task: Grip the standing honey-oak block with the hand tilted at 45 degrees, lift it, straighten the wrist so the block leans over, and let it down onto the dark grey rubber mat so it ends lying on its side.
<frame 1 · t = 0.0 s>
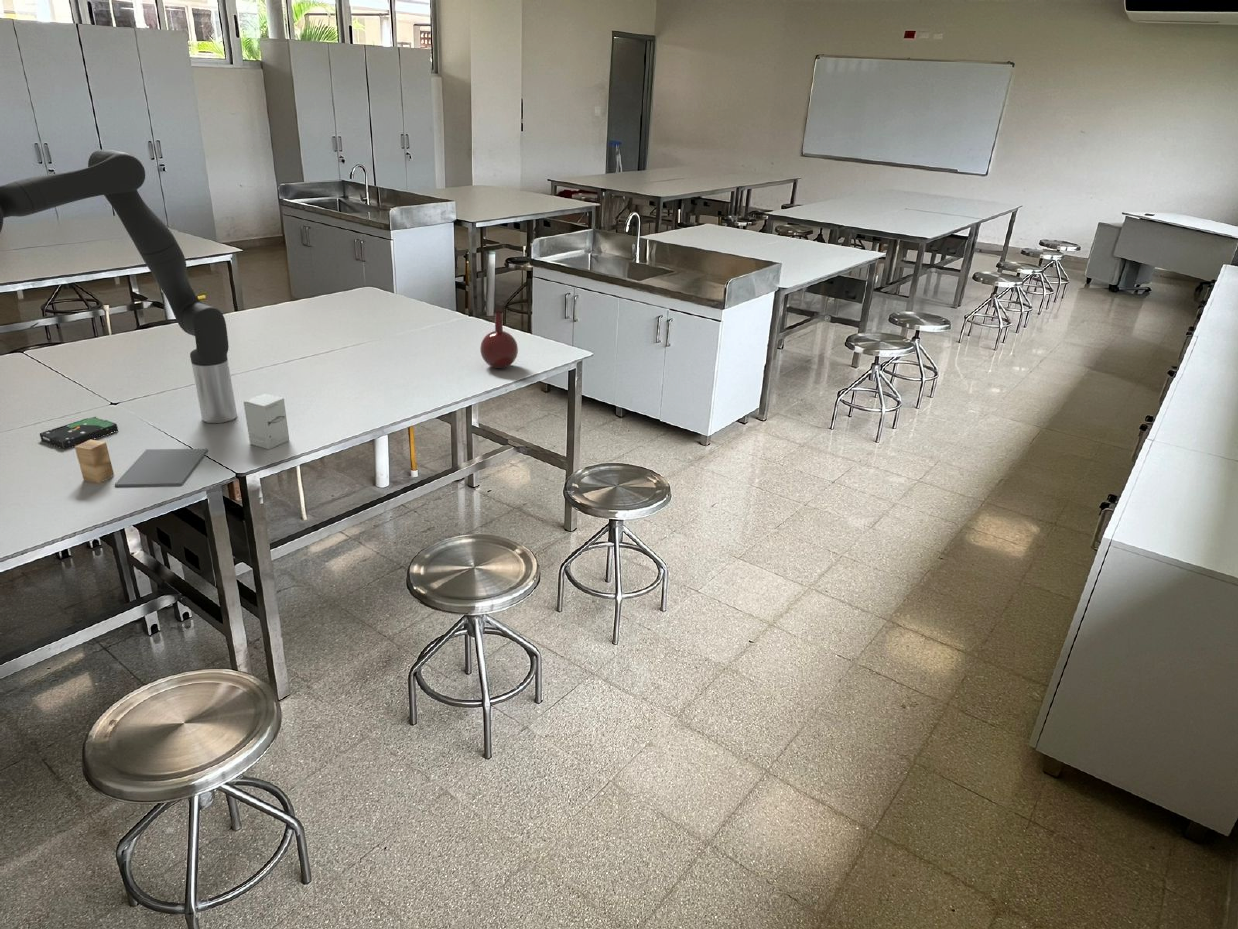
oak block: (99, 477, 193), on the table
round-bottom flask: (499, 367, 282), on the table
disk drive: (81, 438, 214), on the table
supplement box: (270, 443, 217), on the table
rubber mat: (163, 467, 200), on the table
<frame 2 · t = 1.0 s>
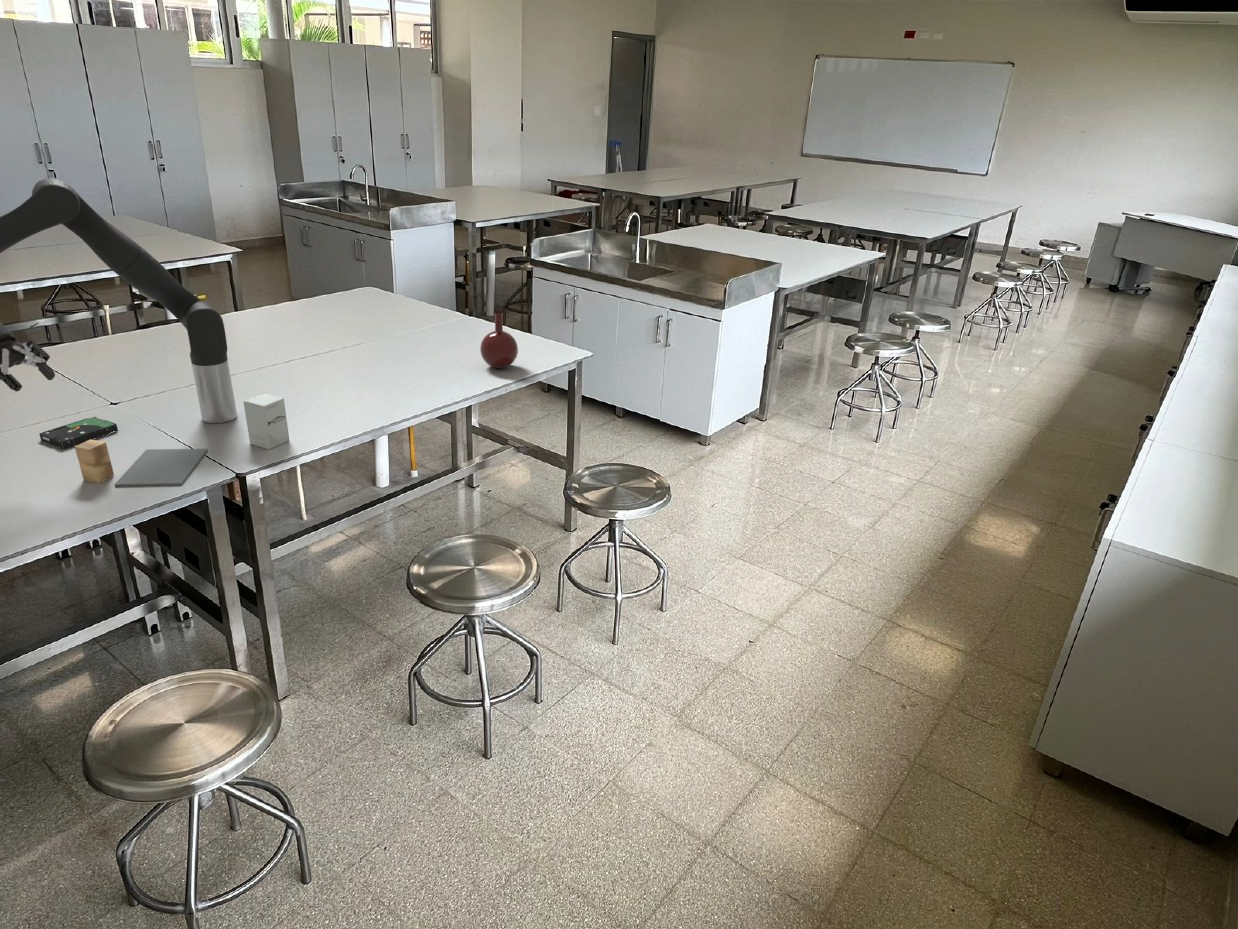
hand: (36, 383, 186), 23 cm above the table, tool tilted 45°, fingers open, 8 cm apart
nothing on the table moved.
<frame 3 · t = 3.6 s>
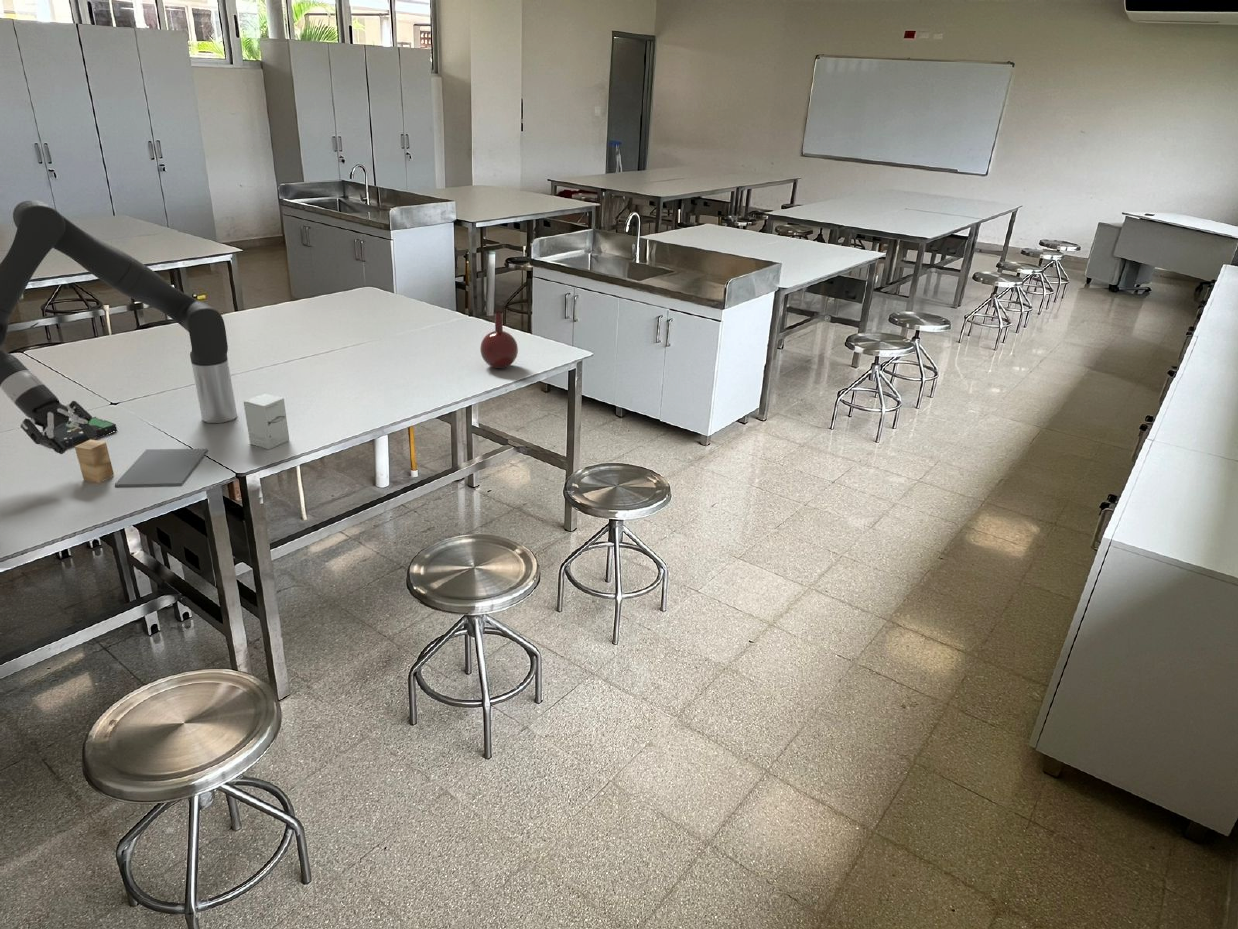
hand: (80, 445, 190), 8 cm above the table, tool tilted 45°, fingers open, 8 cm apart
nothing on the table moved.
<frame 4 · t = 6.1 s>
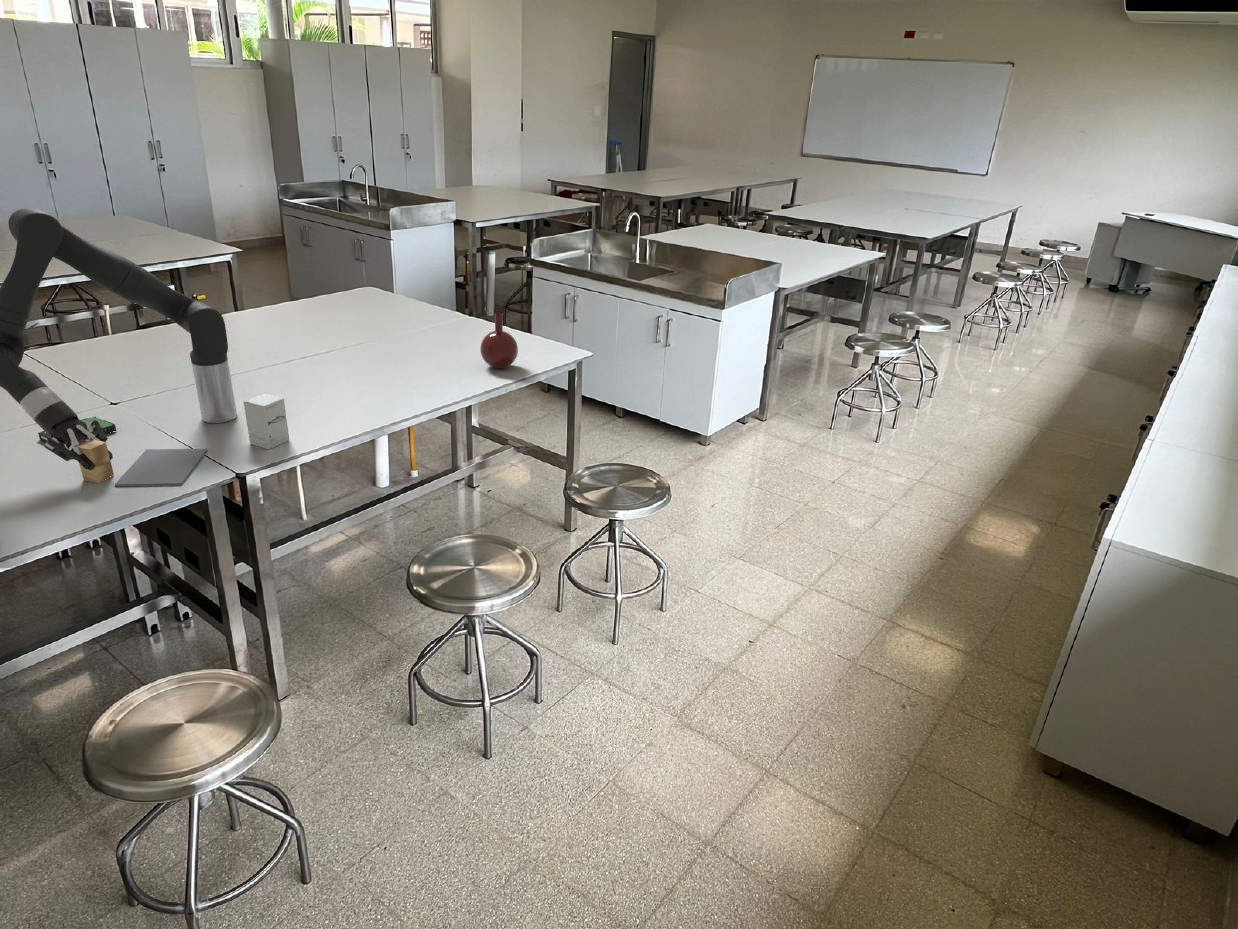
hand: (101, 463, 191), 4 cm above the table, tool tilted 45°, fingers closed on oak block, 4 cm apart
oak block: (99, 477, 193), on the table, touching gripper
everything else where it was.
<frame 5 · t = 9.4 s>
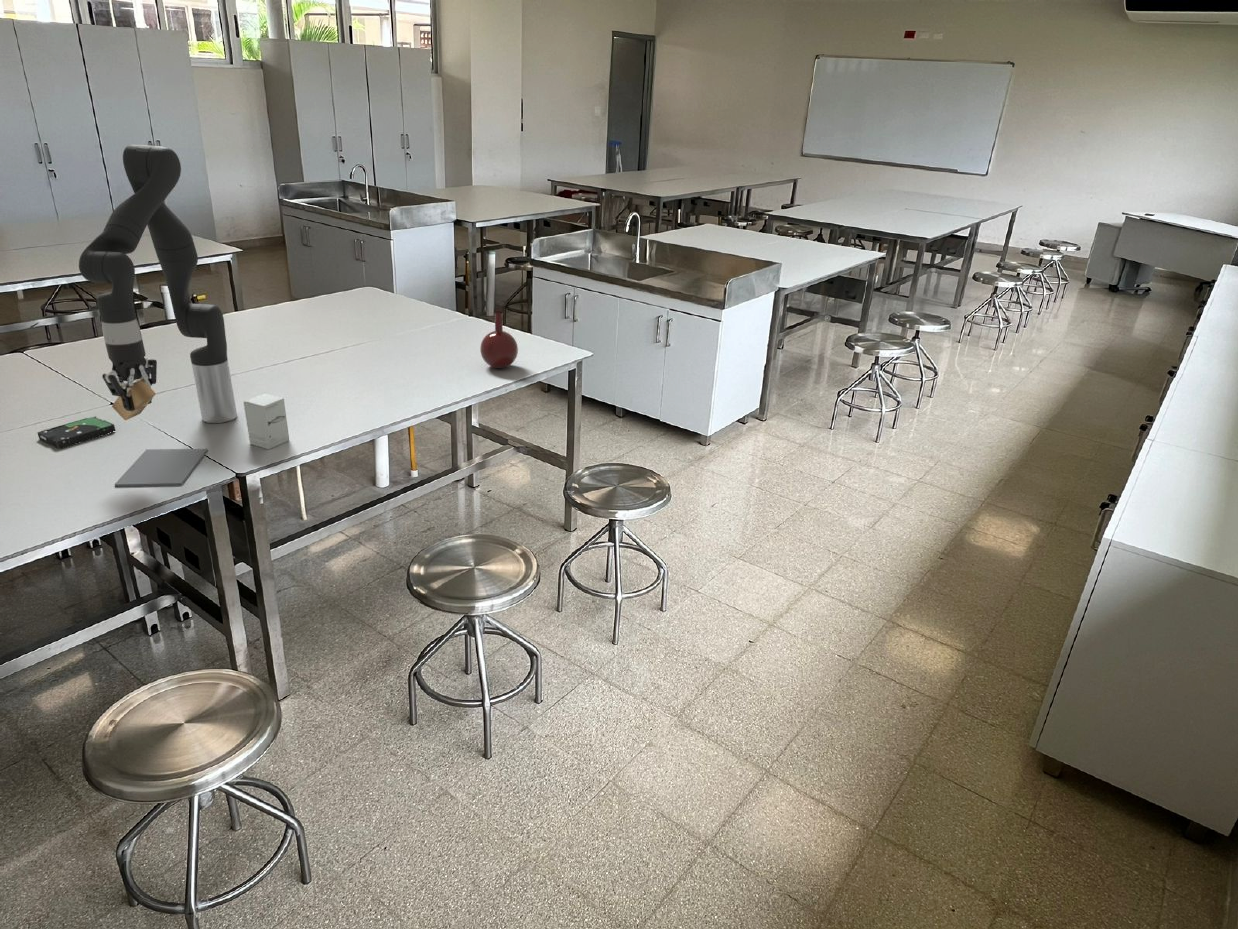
hand: (138, 406, 191), 17 cm above the table, tool pointing down, fingers closed on oak block, 4 cm apart
oak block: (125, 410, 193), point 15 cm above the table, tilted 45°, touching gripper
everything else where it was.
when the fingers open (5 cm above the table, at t = 12.4 s): oak block moves 2 cm and tips over, resting on rubber mat.
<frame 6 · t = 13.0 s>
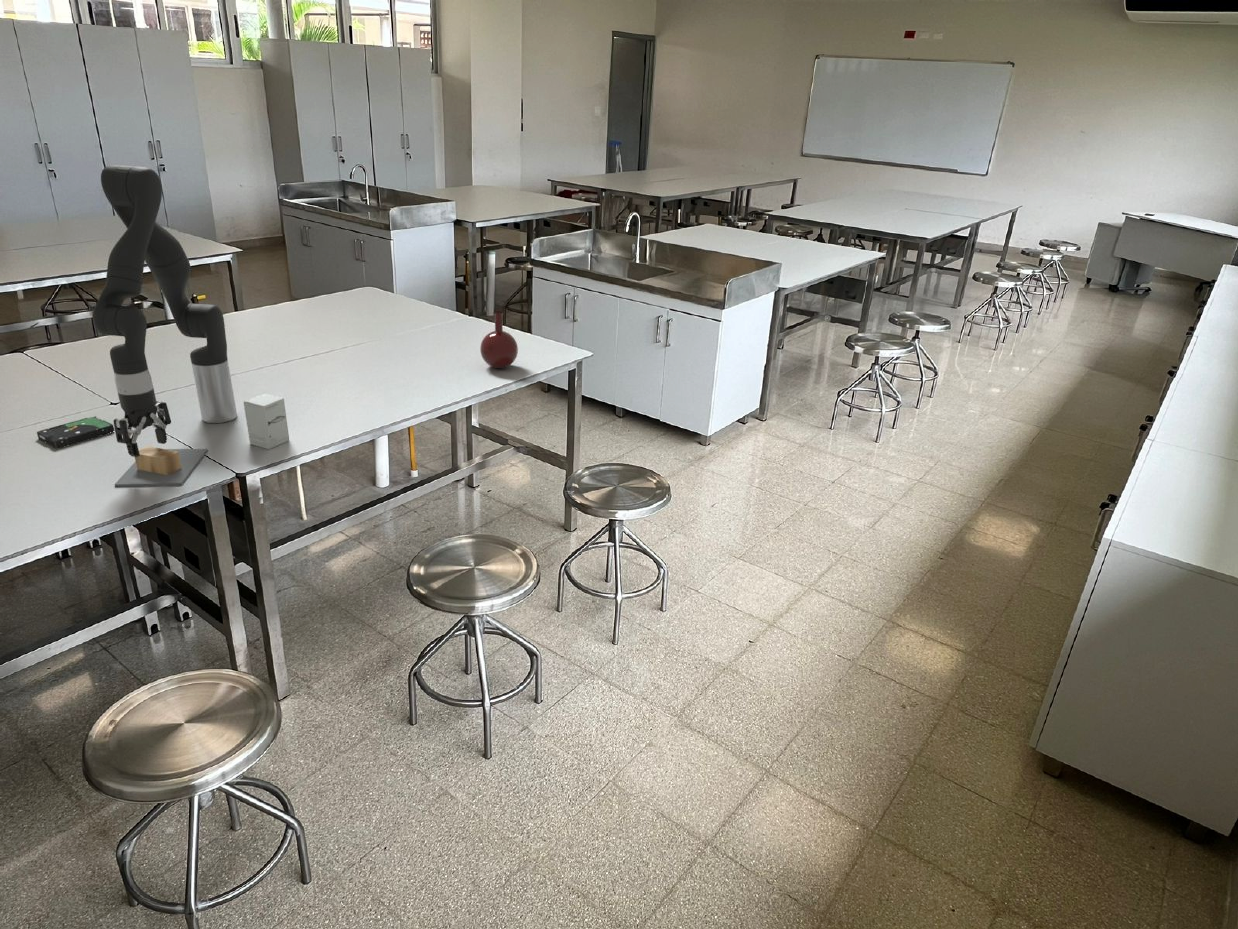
hand: (149, 449, 196), 6 cm above the table, tool pointing down, fingers open, 8 cm apart
oak block: (142, 457, 198), point 3 cm above the table, tilted 90°, touching rubber mat
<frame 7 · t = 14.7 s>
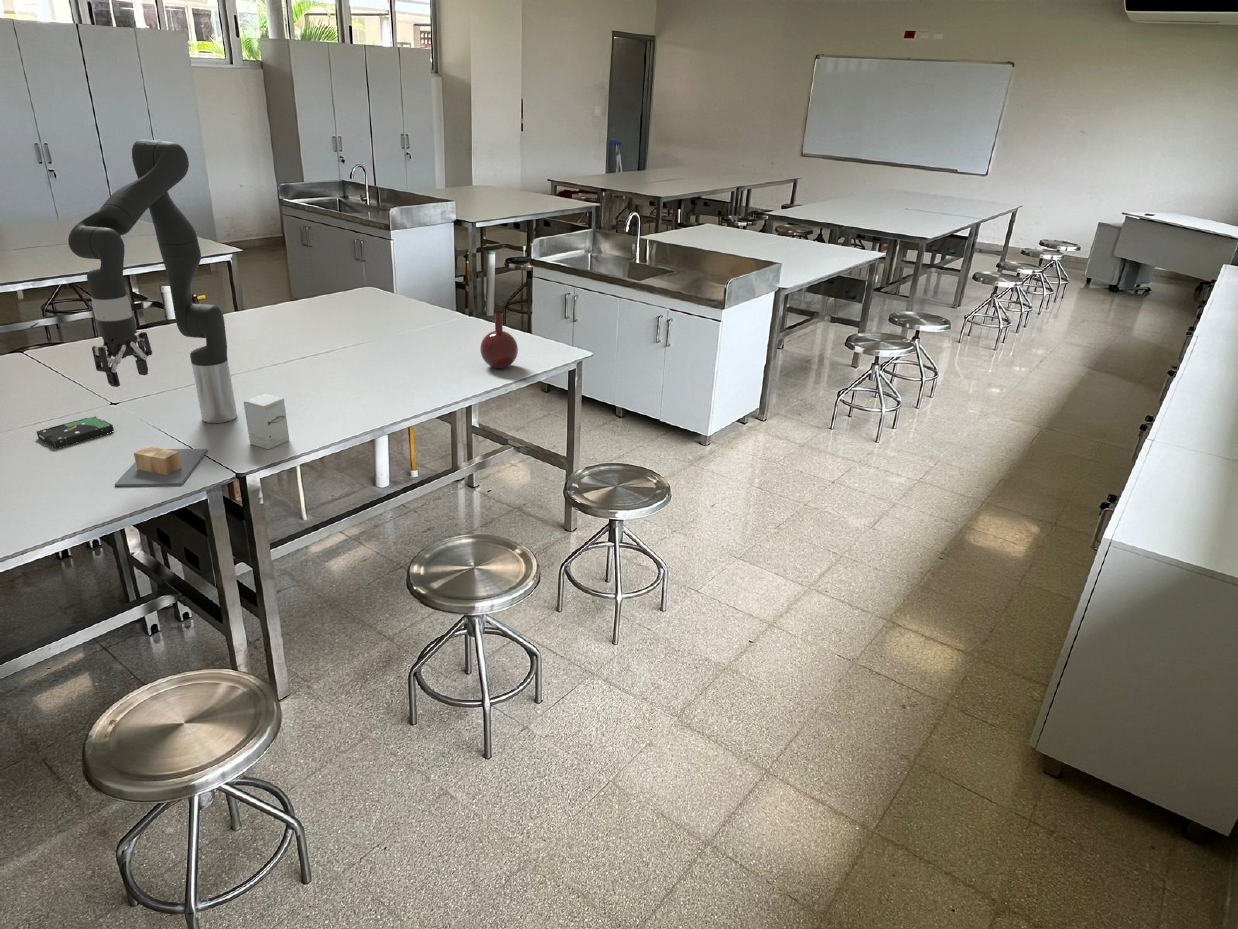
hand: (129, 380, 191), 23 cm above the table, tool pointing down, fingers open, 8 cm apart
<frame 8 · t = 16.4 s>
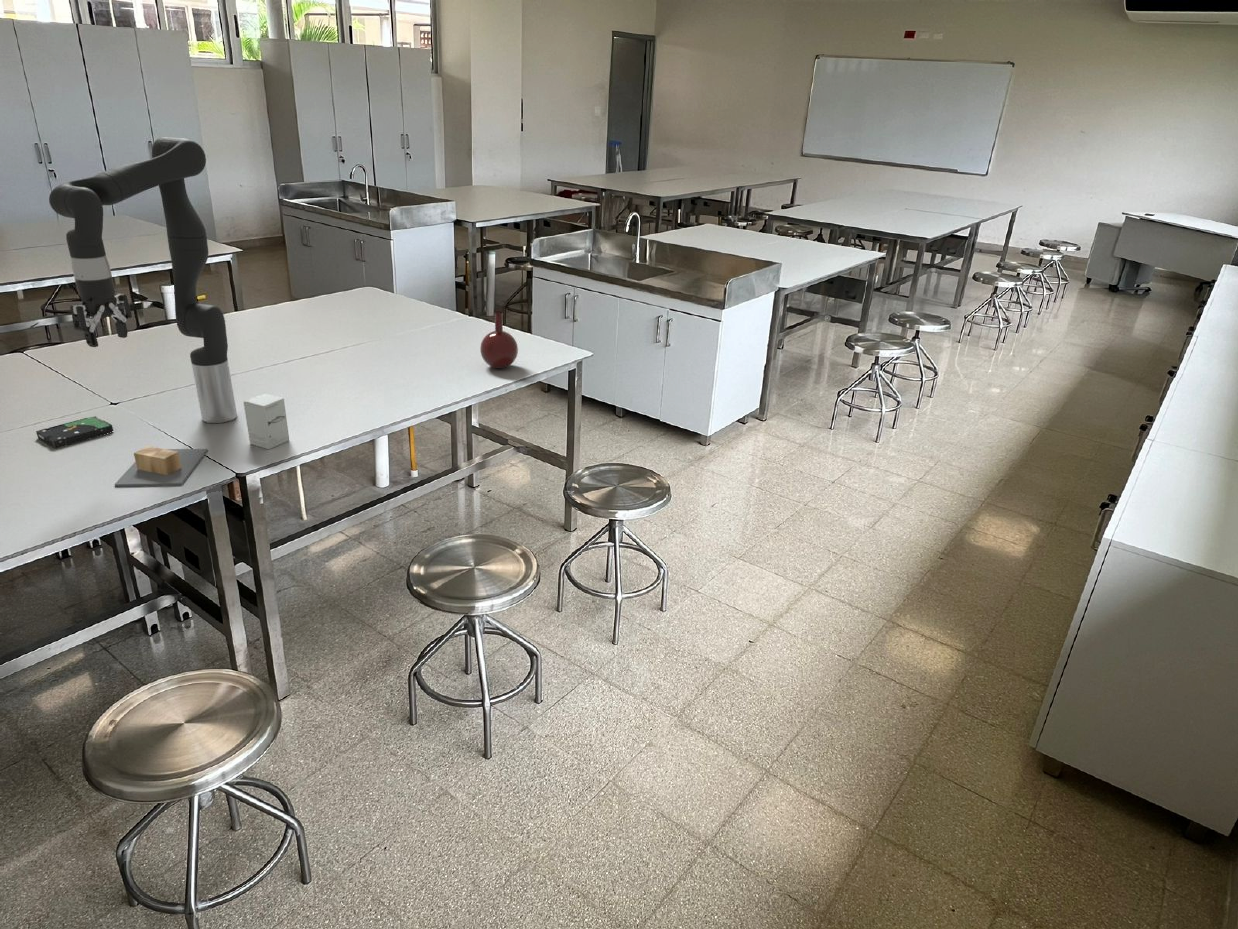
hand: (108, 341, 193), 30 cm above the table, tool pointing down, fingers open, 8 cm apart
at the end: oak block tilted 90°; oak block inside the target area on the rubber mat (3.4 cm from its centre), point 2.8 cm above the rubber mat's base; oak block touching rubber mat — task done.
